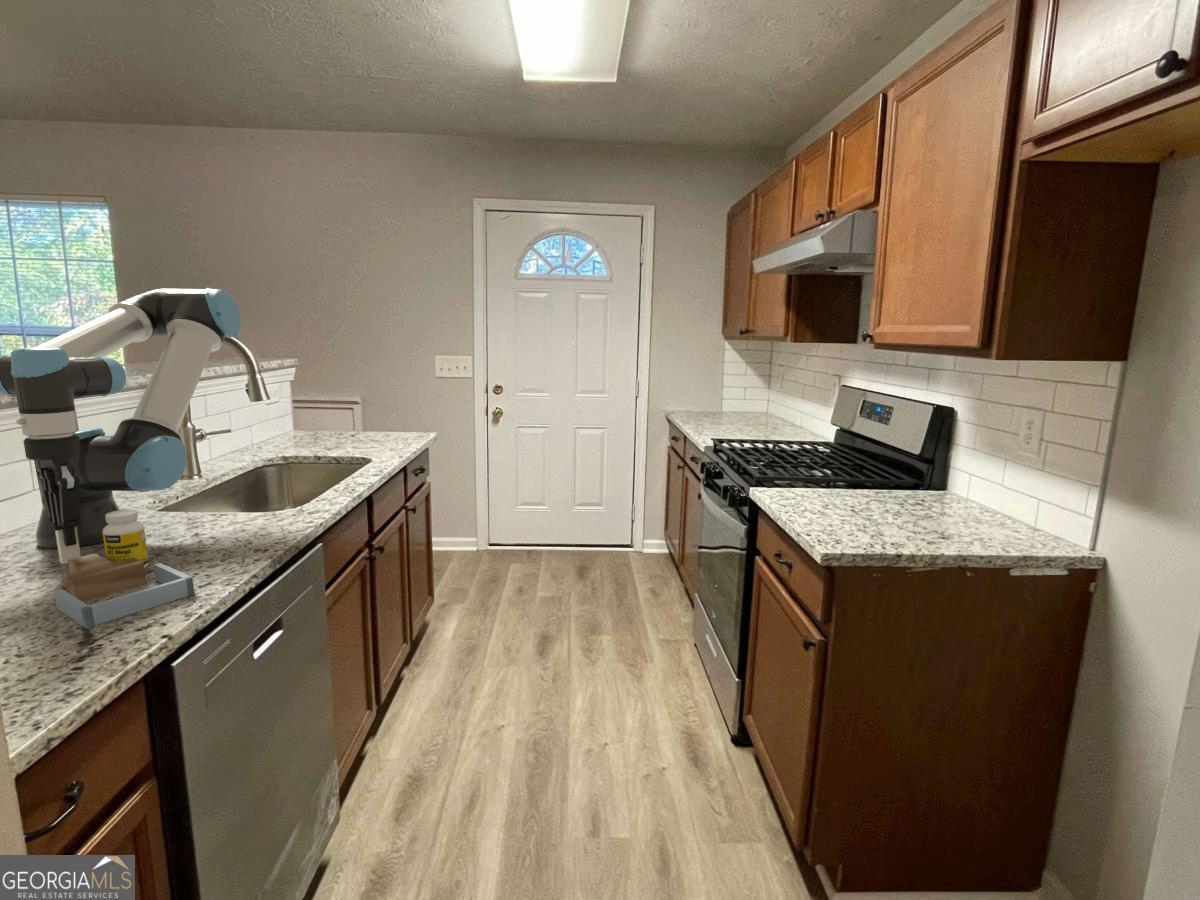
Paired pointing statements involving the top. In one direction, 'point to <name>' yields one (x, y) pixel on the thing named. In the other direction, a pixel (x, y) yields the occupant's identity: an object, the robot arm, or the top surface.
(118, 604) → the dock
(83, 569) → the t block
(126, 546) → the pill bottle
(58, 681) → the top surface
